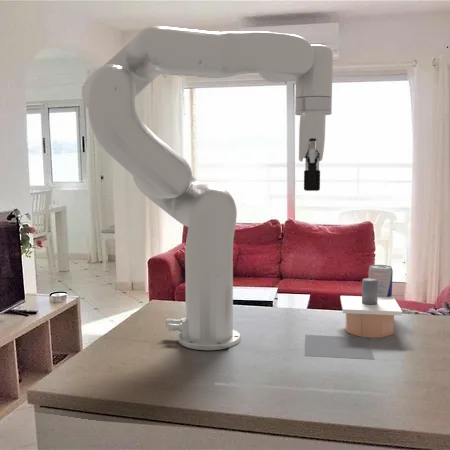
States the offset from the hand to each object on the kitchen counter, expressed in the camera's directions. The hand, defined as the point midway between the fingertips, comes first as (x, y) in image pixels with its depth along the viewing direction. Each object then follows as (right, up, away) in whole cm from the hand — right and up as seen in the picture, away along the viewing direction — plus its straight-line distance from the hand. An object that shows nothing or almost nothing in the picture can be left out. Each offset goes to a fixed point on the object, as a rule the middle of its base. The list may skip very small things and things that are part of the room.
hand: (311, 189), depth 118 cm
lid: (+12, -25, 0) cm, 28 cm away
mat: (+3, -32, -10) cm, 33 cm away
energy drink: (+18, -29, +12) cm, 36 cm away
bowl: (+12, -30, +1) cm, 33 cm away
